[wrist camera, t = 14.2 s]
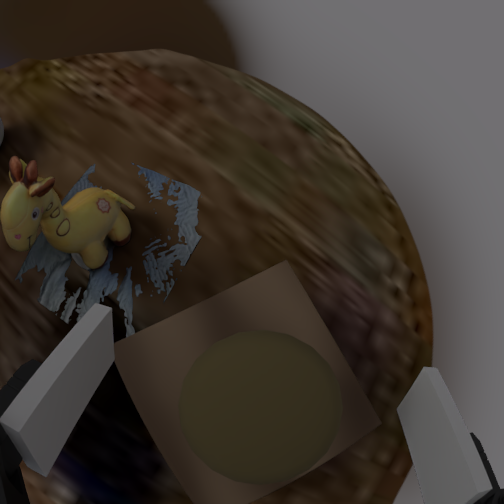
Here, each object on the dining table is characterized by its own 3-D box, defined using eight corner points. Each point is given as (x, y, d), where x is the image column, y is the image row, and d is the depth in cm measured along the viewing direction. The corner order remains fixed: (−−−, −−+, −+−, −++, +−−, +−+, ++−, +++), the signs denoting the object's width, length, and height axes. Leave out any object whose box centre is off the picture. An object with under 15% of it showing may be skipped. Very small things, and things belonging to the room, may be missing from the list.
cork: (179, 421, 17) (126, 466, 7) (214, 332, 19) (203, 276, 9) (274, 454, 17) (329, 526, 6) (307, 365, 19) (393, 343, 9)
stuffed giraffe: (14, 281, 27) (-79, 206, 12) (104, 155, 34) (71, 45, 20) (132, 365, 26) (54, 339, 11) (221, 208, 33) (236, 84, 19)
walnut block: (210, 484, 22) (206, 520, 14) (138, 356, 26) (107, 346, 18) (341, 414, 25) (381, 423, 18) (269, 292, 29) (286, 259, 22)
